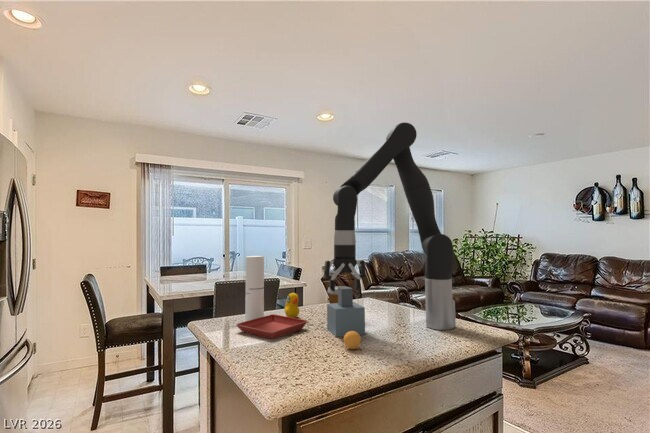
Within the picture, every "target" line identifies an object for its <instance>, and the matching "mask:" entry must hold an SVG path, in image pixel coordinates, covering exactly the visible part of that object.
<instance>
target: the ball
mask: <svg viewBox="0 0 650 433" xmlns="http://www.w3.org/2000/svg"><path fill="white" fill-rule="evenodd" d="M361 341H362V338H361V335H359V334H358V333H357V332H355V331H349V332H347V333H346V334H345V336H343V343H344V345H345V347H346V348H348V350H349V349H350V350H356V349H358V348H359V347H360V345H361Z"/></svg>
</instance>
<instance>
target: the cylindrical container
mask: <svg viewBox="0 0 650 433" xmlns="http://www.w3.org/2000/svg"><path fill="white" fill-rule="evenodd" d="M264 296H265V255H250V256H249V255H248V256H245V300H244V303H245V308H244V309H245V310H244V312H245V314H244V316H245V319H244V320H246V321H249V320H253V319H257V318H260V317H264V316H265V297H264ZM246 321H245V322H246Z"/></svg>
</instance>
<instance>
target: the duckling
mask: <svg viewBox="0 0 650 433" xmlns="http://www.w3.org/2000/svg"><path fill="white" fill-rule="evenodd" d="M299 301H300V298H299V295H298V294H297V293H295V292H291V293H289V294H287V297H286V302H285V306H284V314H285V316H286V317H291V318H296V319H297V318H298V316H299V315H300V308H299V305H298V304H299Z"/></svg>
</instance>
